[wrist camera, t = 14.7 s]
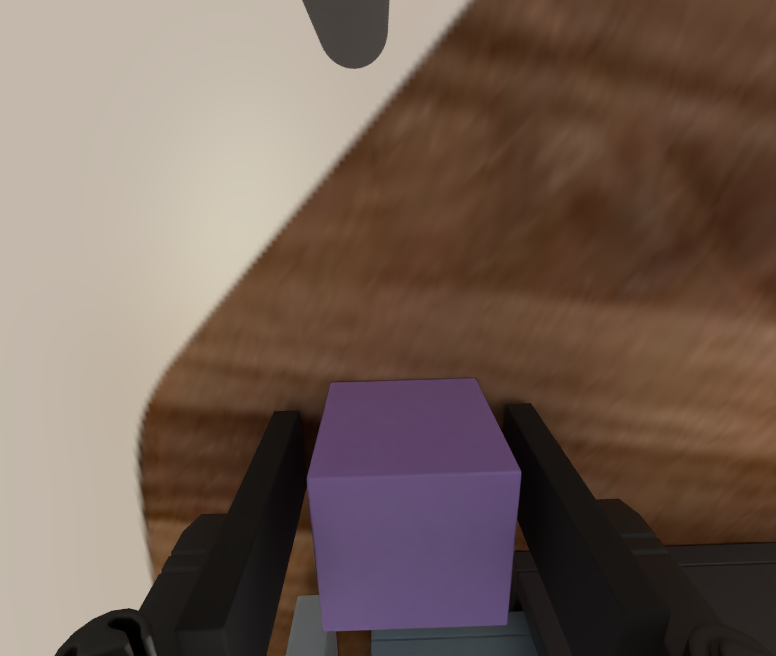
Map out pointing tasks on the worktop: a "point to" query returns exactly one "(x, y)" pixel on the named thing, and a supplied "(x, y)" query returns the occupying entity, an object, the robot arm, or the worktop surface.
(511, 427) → the robot arm
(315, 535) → the lavender cube
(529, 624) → the grey drawer box
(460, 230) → the worktop surface
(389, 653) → the light blue drawer
